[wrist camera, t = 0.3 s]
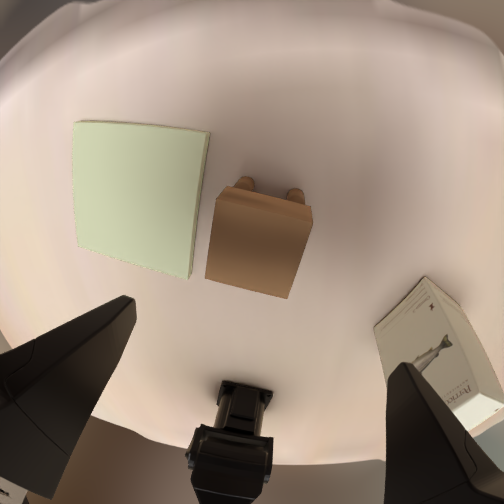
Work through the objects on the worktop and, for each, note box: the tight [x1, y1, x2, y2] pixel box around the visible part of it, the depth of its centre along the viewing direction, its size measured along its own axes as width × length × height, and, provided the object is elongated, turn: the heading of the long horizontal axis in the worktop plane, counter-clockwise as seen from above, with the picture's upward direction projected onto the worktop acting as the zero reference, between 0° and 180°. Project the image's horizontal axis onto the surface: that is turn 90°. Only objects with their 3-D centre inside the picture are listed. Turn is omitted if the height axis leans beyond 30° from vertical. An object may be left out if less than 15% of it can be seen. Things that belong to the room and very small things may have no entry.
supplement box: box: [374, 277, 504, 431], centre depth 17 cm, size 7×7×13 cm
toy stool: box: [205, 176, 313, 299], centre depth 17 cm, size 5×5×6 cm
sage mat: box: [72, 121, 210, 280], centre depth 20 cm, size 12×12×1 cm
